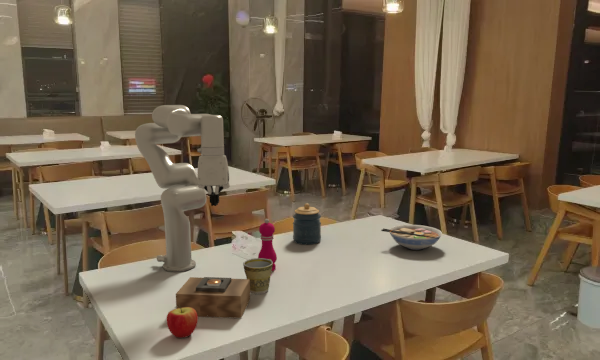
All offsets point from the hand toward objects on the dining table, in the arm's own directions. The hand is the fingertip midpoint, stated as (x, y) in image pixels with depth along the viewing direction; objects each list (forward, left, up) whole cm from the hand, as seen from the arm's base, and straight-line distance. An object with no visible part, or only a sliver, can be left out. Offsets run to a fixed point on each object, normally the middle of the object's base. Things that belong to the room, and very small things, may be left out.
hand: (214, 204), depth 170 cm
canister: (+27, +57, -29) cm, 70 cm away
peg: (+4, -18, -29) cm, 34 cm away
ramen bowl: (+75, +51, -29) cm, 95 cm away
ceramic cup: (+16, -2, -29) cm, 33 cm away
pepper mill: (+15, +18, -29) cm, 38 cm away
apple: (0, -37, -29) cm, 47 cm away
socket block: (+4, -18, -29) cm, 34 cm away
